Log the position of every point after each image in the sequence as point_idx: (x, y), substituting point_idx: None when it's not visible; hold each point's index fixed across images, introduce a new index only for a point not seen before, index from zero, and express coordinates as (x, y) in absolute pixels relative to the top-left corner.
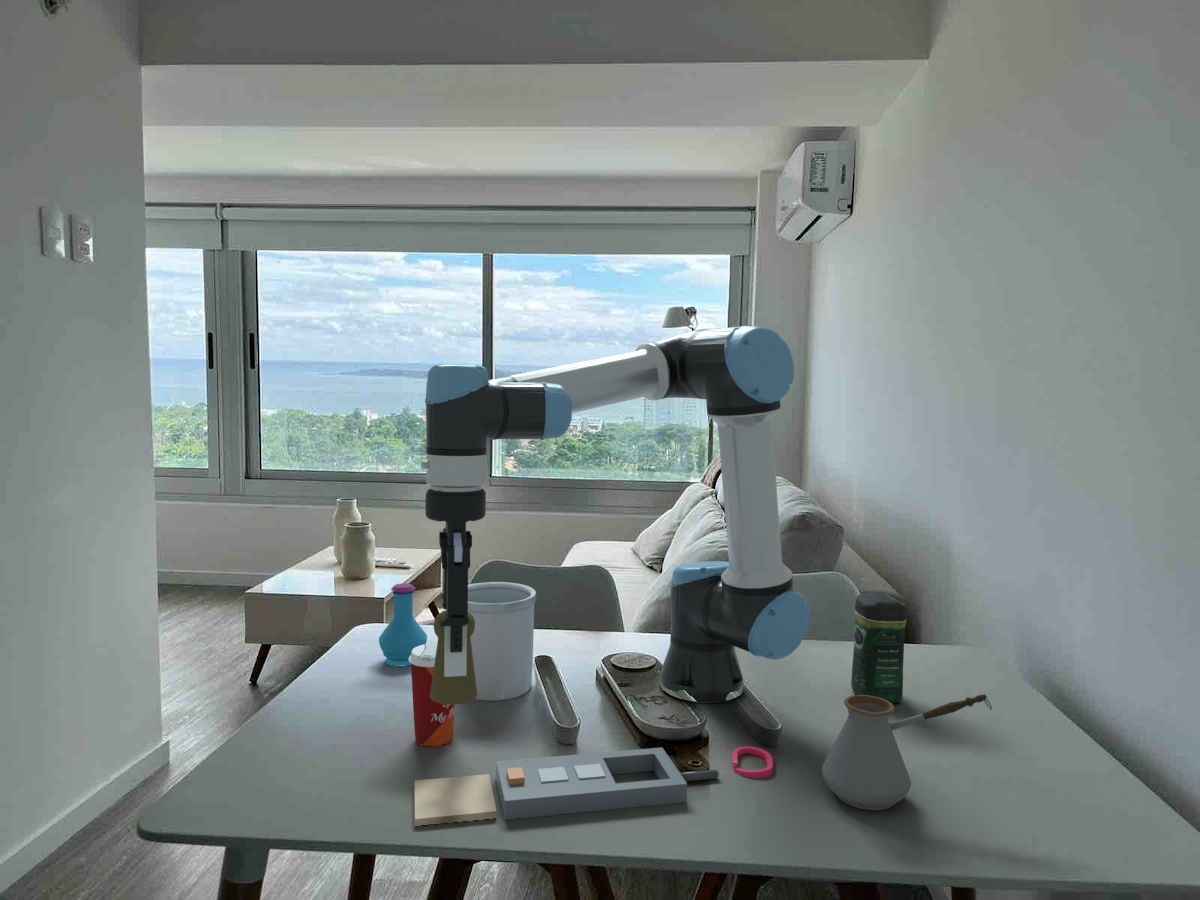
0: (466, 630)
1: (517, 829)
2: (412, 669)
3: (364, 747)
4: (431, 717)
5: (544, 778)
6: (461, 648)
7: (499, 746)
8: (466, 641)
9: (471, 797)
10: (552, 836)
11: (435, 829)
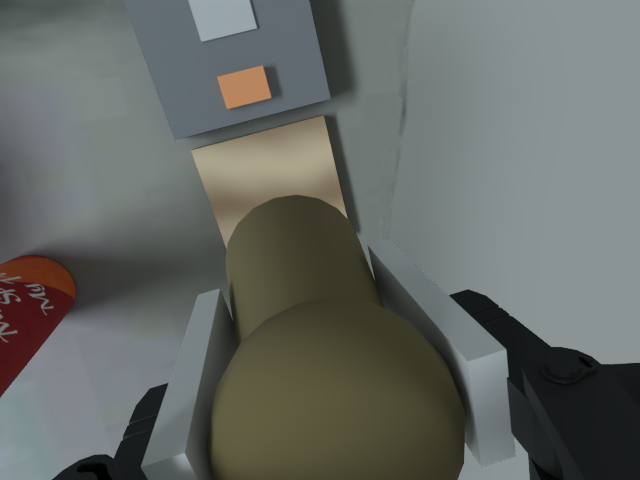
0: (483, 329)
1: (350, 74)
2: None
3: (107, 384)
4: (49, 311)
5: (242, 22)
6: (484, 298)
7: (32, 152)
8: (449, 297)
9: (282, 166)
10: (370, 7)
11: (353, 204)
